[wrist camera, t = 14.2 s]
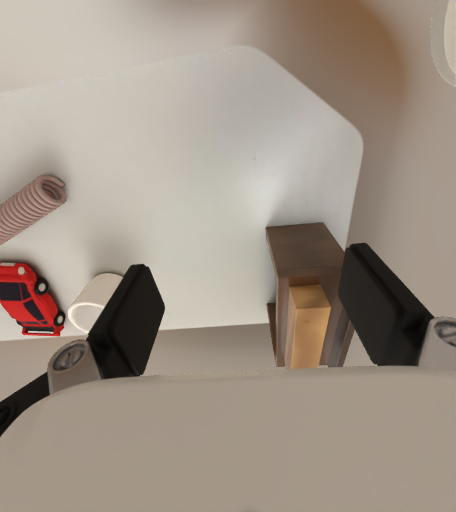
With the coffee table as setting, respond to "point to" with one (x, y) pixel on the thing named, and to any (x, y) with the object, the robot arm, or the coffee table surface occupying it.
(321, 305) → the stick
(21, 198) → the coil
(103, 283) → the mug
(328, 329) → the shelf
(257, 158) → the coffee table surface
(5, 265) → the toy car
